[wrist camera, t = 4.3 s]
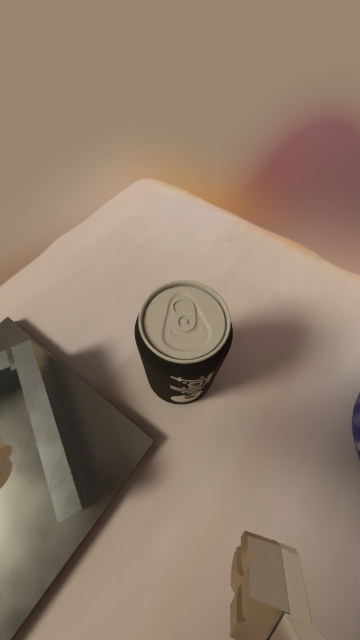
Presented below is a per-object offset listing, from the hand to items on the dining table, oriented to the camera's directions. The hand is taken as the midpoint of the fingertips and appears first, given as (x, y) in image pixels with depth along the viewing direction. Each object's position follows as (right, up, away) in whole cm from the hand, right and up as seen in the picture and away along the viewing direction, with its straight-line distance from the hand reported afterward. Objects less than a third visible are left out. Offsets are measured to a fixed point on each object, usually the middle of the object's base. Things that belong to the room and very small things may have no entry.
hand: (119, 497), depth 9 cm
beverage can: (+2, 0, +19) cm, 19 cm away
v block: (-14, -6, +14) cm, 21 cm away
